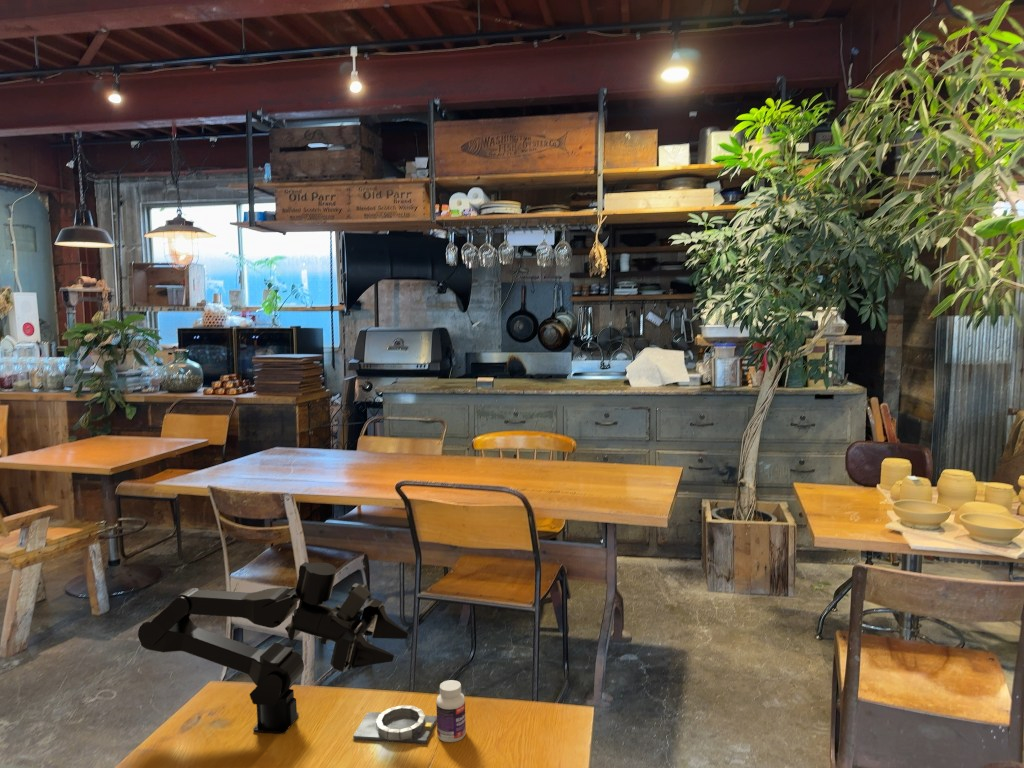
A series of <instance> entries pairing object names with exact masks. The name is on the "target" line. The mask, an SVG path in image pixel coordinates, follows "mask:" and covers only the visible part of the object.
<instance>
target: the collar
mask: <svg viewBox="0 0 1024 768" xmlns="http://www.w3.org/2000/svg"><path fill="white" fill-rule="evenodd" d="M379 713H380V714H379V716H378V718H377V720H376V729H377V732H378V735H379V736H381V737H383V738H385V739H388V740H404V739H408V738H412V737H414V736H415V735H417V734H418V733H420V732H421V731H422V730H423V728H425V729H429V730H431V728H432V723H426V724H425V713H424V711H423V710H422V709H421V708H418V707H417V706H414V705H405V704H401V705H397V706H392V707H389V708H387V709H385V710H384V711H382V712H379ZM401 715H404V716H412V717H414V718H416V719H418V722H417V723H415V724H414V725H412V726H411V727H408V728H404V729H390V728H388V727H386V726H384V725H383V724H384V723H385V722H386V721H387V720H389V719H391V718H393V717H397V716H401Z"/></svg>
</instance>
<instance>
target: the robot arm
mask: <svg viewBox="0 0 1024 768" xmlns="http://www.w3.org/2000/svg"><path fill="white" fill-rule="evenodd" d="M336 575H337V568H336V566H335V565H333V564H331V563H329V562H317V561H316V562H308V561H307V562H306V561H304V562H303V563H302V564H300V565H299V569H298V576H297V577H298V578H297V582H296V586H293V587H291V588H289V587H285V586H281V587H279V586H278V587H272V588H271V587H270V588H266V589H263V590H259V591H255V592H243V591H242V592H241V591H225V590H211V589H210V590H209V589H200V588H198V587H197V588H196V587H194V588H193V587H192V588H191V587H190V588H188V589H186V590H185V591H184V592H182V593H180V594H179V595H177V596H176V597H175V598H174V599H173V600H172V602H171V603H170V604H169V605H168V606H166V607H165V609H162V611H160V612H159V613H157V614H156V615H154V616H152V617H151V618H149V619H148V620H146V621H145V622H143V623H142V624H141V625H140V626H139V628H138V631H137V633H138V634H137V636H138V640H139V643H140V646H141V647H142V648H143V649H145V650H148V651H153V652H157V653H172V652H173V653H174V652H183V653H186V654H188V655H192V656H195V657H197V658H199V659H200V658H201V659H204V660H207V661H209V662H211V663H214V664H217V665H220V666H223V667H225V668H228V669H231V670H234V671H237V672H239V673H242V674H244V675H247V676H249V678H250V679H251V681H252V682H253V683H254V684H255V686H256V687H254V688H253V690H251V692H250V693H249V697H250V700H251V703H252V704H253V705H255V706H256V720H257V721H256V722H257V723H256V725H255V726H254V727H253V729H252V730H253V731H252V732H255V733H268V734H269V733H270V734H286V732H287V731H288V730H289V729H290V728H291V726H292V725H293V724H294V722H295V721H296V720H297V718H299V715H300V714H299V712H298V711H297V706H298V705H297V698H296V697H295V695H294V693H295V691H294V690H295V689H292V687H293V685H295V684H296V682H297V680H298V679H299V678H300V677H301V675H303V672H304V670H305V662H304V660H303V658H302V655H301V654H300V653H299V652H297V651H295V648H294V647H293V646H292V647H291V646H290V647H288V646H285V645H283V644H281V643H279V642H273V643H272V644H271V645H270V646H269V647H268V648H267V649H266V648H265V649H260V648H258V647H255V646H252V645H249V644H246V643H243V642H241V641H237V640H234V639H232V638H229V637H226V636H224V635H221V634H218V633H216V632H212V631H209V630H207V629H204V628H201V627H198V626H197V625H195V623H194V622H193V620H192V619H191V616H192V615H199V616H202V615H203V616H213V617H214V616H215V617H229V618H241V619H242V618H243V619H246V620H248V621H249V622H251V623H252V624H254V625H257V626H261V627H265V628H269V629H274V628H277V627H279V626H281V624H282V623H284V622H285V621H286V620H287V619H288V618H289V617H290V616H291V620H290V623H288V625H286V627H284V629H285V631H286V633H287V637H288V639H289V640H290V641H291V642H292V641H294V640H295V639H296V638H297V637H298V635H300V634H301V633H304V634H307V635H310V636H313V637H316V638H319V639H320V640H321V641H320V644H323V645H324V646H325V645H326V644H328V643H329V642H331V643H334V647H333V651H332V654H331V659H330V663H329V664H330V666H331V667H332V669H333V671H336V672H339V673H343V674H344V673H345V672H346V671H347V670H348V671H351V670H352V669H357V668H361V667H365V666H371V665H377V664H378V665H379V664H384V663H389V662H390V663H391V662H393V661H394V659H395V655H394V654H393V653H391V652H389V651H387V650H385V649H382V648H380V647H378V646H375V645H374V644H372V643H369V642H368V641H367V640H366V639H365V637H364V636H366V637H367V636H368V637H371V636H372V637H371V638H372V639H393V640H395V639H397V640H398V639H399V640H406V639H408V638H409V632H408V631H407V630H406V629H404V628H403V627H402V626H400V625H399V624H397V623H396V622H394V621H393V620H392V618H390V617H389V616H388V615H387V612H386V606H385V605H384V601H382V600H380V599H376V598H373V599H371V600H370V601H369V602H368V603H367V604H366V605H365V606H364V604H365V603H366V602H367V600H368V599H370V597H371V596H372V592H371V591H369V587H368V585H367V584H366V583H365V584H362V583H361V582H360V583H357V582H356V583H353V585H352V586H351V588H350V589H349V590H348V595H347V597H346V599H345V601H344V602H343V604H341V603H340V604H336V605H335V606H334V607H331V606H327V605H325V604H324V602H325V603H326V602H328V601H329V600H330V599H331V596H332V592H333V587H334V583H335V579H336ZM363 606H364V607H363ZM362 608H363V609H362Z"/></svg>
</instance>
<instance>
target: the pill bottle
mask: <svg viewBox="0 0 1024 768" xmlns="http://www.w3.org/2000/svg"><path fill="white" fill-rule="evenodd" d="M435 706H436V716H437V720H436V733H437V734H436V735H437V738H438V739H439V740H441V741H442V742H445V743H455V742H459V741H461V740H462V739H464V737H465V735H466V730H467V727H466V726H467V724H466V722H467V721H466V698H465V695H464V693H463V692H462V684H461V682H460V681H458V680H455V679H454V680H453V679H450V680H449V679H448V680H443V682H441V683H440V684H439V694H438V696H437V698H436V703H435Z"/></svg>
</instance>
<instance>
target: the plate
mask: <svg viewBox="0 0 1024 768" xmlns="http://www.w3.org/2000/svg"><path fill="white" fill-rule="evenodd" d="M380 713H381V712H374V711H367V713H366V714H365V715H364V718H363V719H362V720H361V723H360V724H359V725H358V727H357V728H356V730H355V732H354V733H353V736H352V740H353V741H364V742H365V741H367V742H382V743H398V744H413V745H415V744H416V745H427V744H428V742H429V740H430V736H431V735H432V732H433V729H434V727H435V725H436V724H437V715H427V714H426V715H425V714H424V715H425V724H426V723H432V728H431V730H429V729H425V728H423V730H422V731H421V732H420V733H418V734H417V735H415V736H414V737H412V738H408V739H404V740H388V739H385V738H383V737H381V736H379V735H378V732H377V729H376V720H377V718H378V716H379V714H380ZM417 722H418V719H416V718H414V717H412V716H404V715H401V716H397V717H393V718H391V719H389V720H387V721H386V722H385V723H384V724H383V725H384V726H386V727H388V728H390V729H404V728H408V727H411V726H412V725H414V724H415V723H417Z"/></svg>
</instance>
